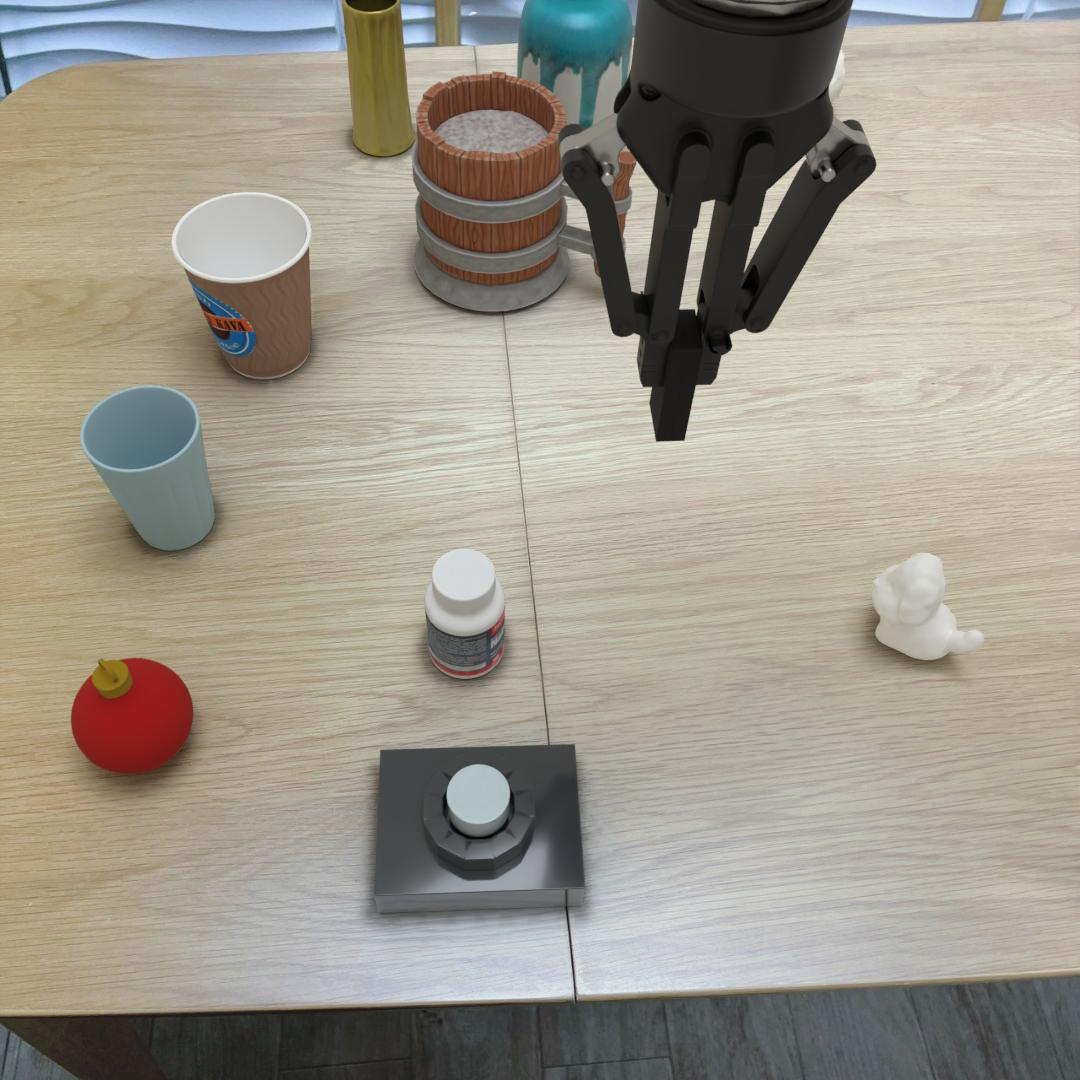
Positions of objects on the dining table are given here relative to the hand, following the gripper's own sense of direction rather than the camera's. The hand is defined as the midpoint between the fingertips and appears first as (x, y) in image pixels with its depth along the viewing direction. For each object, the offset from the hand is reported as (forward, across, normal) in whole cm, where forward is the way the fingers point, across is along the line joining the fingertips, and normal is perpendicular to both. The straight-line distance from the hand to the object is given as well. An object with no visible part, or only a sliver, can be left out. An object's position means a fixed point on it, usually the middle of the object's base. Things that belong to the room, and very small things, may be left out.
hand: (666, 421), depth 57 cm
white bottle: (+23, -20, -59) cm, 66 cm away
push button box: (+23, +10, +13) cm, 28 cm away
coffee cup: (+23, +27, -30) cm, 46 cm away
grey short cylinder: (+18, +10, +13) cm, 25 cm away
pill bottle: (+23, +11, 0) cm, 26 cm away
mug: (+23, +5, -39) cm, 46 cm away
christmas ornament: (+23, +32, +6) cm, 40 cm away
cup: (+23, +32, -12) cm, 41 cm away
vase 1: (+23, +18, -59) cm, 66 cm away
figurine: (+23, -20, 0) cm, 31 cm away
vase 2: (+23, -1, -58) cm, 62 cm away
